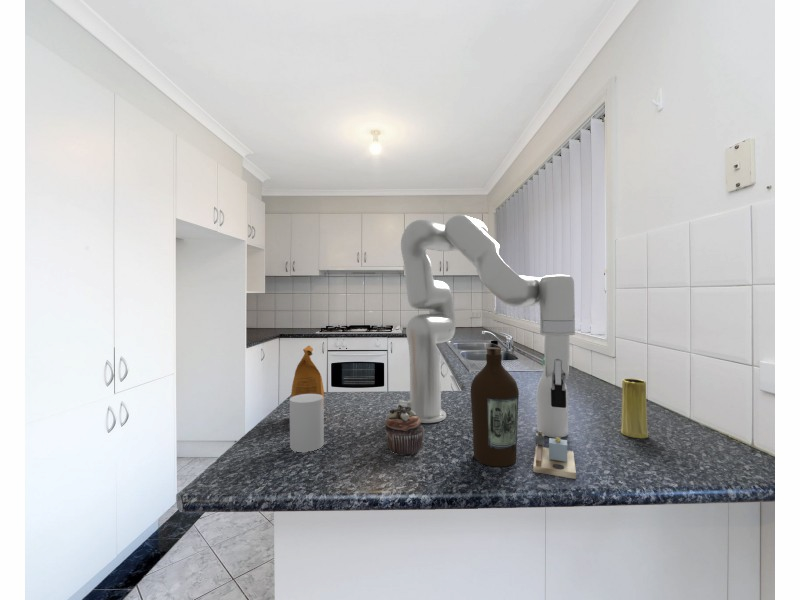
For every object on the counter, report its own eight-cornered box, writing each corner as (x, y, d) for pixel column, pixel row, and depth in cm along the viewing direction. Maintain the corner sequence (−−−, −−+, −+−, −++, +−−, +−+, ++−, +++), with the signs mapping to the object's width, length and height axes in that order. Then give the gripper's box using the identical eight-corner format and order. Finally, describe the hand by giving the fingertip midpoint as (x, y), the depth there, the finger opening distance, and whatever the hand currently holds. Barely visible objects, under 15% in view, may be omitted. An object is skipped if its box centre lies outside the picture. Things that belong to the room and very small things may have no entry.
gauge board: (533, 471, 75) (533, 447, 75) (535, 451, 86) (535, 430, 86) (575, 478, 72) (575, 454, 72) (573, 456, 82) (573, 434, 82)
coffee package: (325, 412, 116) (325, 344, 116) (323, 426, 104) (323, 349, 104) (293, 414, 114) (293, 345, 114) (288, 428, 102) (287, 350, 102)
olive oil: (463, 450, 86) (462, 346, 86) (504, 446, 89) (503, 344, 89) (483, 471, 76) (482, 352, 76) (528, 465, 78) (528, 350, 78)
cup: (329, 442, 92) (329, 395, 92) (312, 455, 85) (311, 403, 84) (302, 438, 95) (302, 392, 95) (283, 450, 87) (282, 400, 87)
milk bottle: (571, 439, 92) (570, 361, 92) (539, 437, 94) (539, 360, 94) (564, 429, 100) (563, 356, 100) (534, 427, 102) (534, 356, 102)
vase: (645, 432, 97) (645, 379, 97) (650, 440, 92) (650, 384, 91) (619, 429, 100) (619, 377, 100) (622, 436, 94) (622, 382, 94)
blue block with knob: (549, 459, 78) (548, 439, 78) (549, 453, 81) (549, 434, 81) (567, 461, 76) (567, 441, 76) (567, 456, 79) (566, 436, 79)
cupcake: (417, 459, 82) (417, 415, 82) (378, 453, 85) (378, 411, 85) (429, 443, 91) (429, 403, 91) (393, 438, 94) (393, 400, 94)
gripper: (541, 325, 93) (542, 397, 93) (538, 330, 79) (540, 414, 79) (573, 326, 90) (574, 399, 90) (576, 330, 76) (578, 417, 76)
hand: (558, 406), depth 84 cm, fingers closed
